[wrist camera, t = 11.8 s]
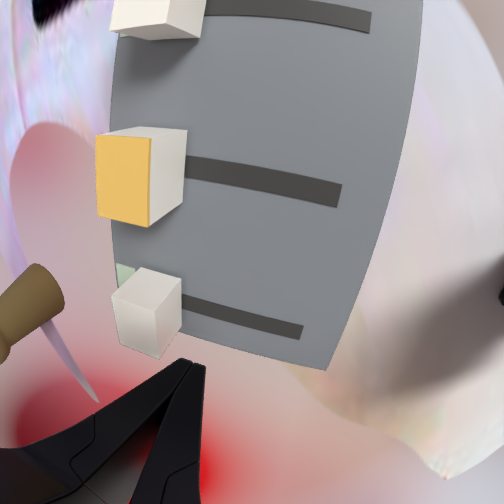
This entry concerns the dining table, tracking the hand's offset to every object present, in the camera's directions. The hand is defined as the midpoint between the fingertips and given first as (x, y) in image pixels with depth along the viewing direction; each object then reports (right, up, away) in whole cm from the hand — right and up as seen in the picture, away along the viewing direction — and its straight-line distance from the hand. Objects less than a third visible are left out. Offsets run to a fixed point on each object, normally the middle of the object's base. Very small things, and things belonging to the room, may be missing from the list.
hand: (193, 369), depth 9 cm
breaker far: (-4, +1, +11) cm, 12 cm away
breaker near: (-2, +16, +3) cm, 17 cm away
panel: (+1, +8, +8) cm, 11 cm away
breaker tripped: (-3, +8, +7) cm, 11 cm away
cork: (-20, 0, +18) cm, 27 cm away
